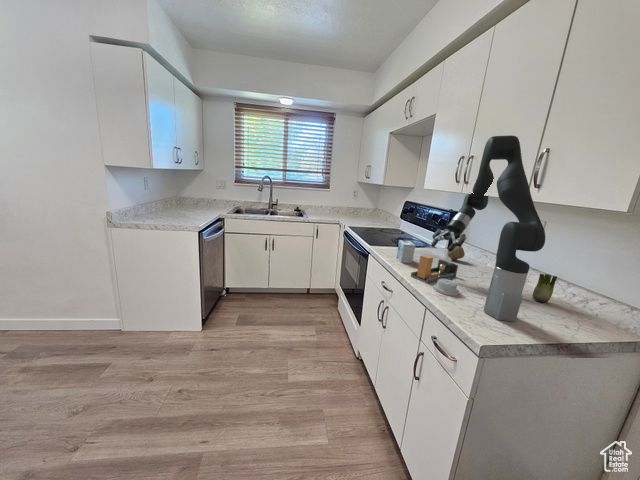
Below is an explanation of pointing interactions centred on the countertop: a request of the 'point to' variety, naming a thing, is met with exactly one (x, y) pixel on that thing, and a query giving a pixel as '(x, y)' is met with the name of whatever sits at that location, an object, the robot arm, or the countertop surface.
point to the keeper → (447, 267)
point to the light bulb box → (405, 251)
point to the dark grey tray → (433, 279)
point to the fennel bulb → (544, 288)
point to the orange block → (425, 267)
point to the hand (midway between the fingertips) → (440, 248)
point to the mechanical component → (446, 287)
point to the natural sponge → (456, 253)
